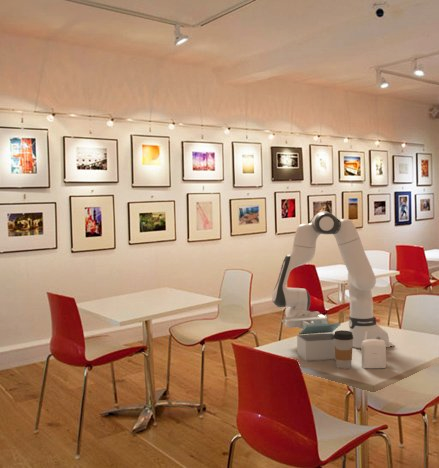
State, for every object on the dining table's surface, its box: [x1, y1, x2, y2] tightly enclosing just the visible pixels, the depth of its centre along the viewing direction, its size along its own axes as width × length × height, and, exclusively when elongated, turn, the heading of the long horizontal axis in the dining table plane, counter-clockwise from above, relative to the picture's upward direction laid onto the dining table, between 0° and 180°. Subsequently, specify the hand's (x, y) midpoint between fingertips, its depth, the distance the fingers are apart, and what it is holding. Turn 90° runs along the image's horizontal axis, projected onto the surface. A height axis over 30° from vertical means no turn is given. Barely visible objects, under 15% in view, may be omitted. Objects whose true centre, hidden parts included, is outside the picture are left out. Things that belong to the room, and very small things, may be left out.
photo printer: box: [360, 339, 387, 369], centre depth 229 cm, size 10×4×12 cm, turn 86°
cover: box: [298, 322, 342, 335], centre depth 247 cm, size 16×12×1 cm
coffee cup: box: [334, 330, 354, 370], centre depth 231 cm, size 8×8×15 cm
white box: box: [296, 332, 336, 362], centre depth 247 cm, size 18×12×9 cm
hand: (310, 325), depth 244 cm, fingers closed, pressing on cover
